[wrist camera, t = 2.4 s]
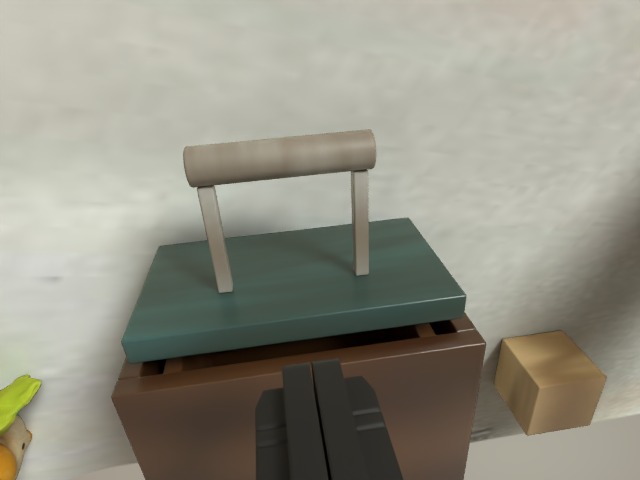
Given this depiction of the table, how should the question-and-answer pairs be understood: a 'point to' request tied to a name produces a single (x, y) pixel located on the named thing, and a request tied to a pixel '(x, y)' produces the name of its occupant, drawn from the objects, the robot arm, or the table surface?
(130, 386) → the cabinet
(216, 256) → the drawer
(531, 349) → the beech block
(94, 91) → the table surface
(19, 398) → the bird rattle
